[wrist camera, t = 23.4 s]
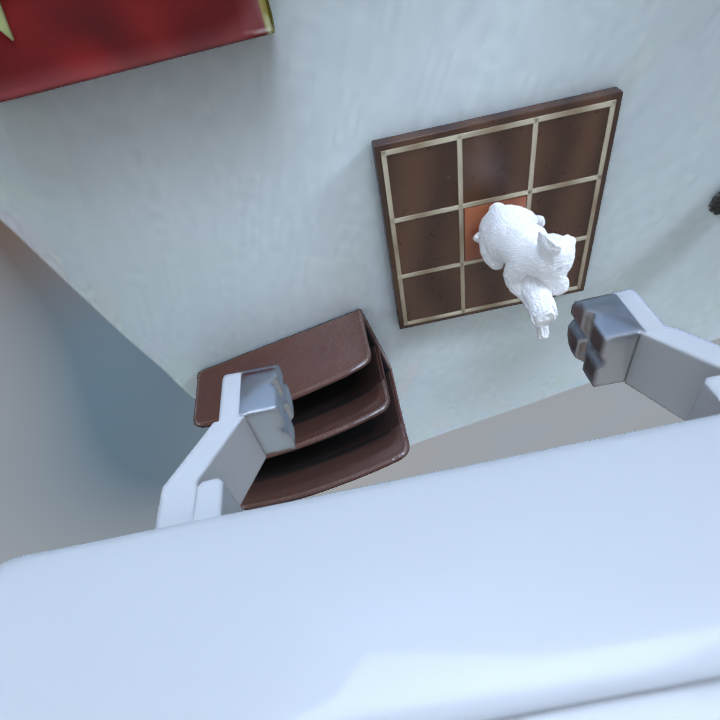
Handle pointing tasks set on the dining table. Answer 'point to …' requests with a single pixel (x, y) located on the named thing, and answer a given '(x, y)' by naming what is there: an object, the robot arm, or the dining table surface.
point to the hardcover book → (112, 37)
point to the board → (489, 197)
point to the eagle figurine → (715, 205)
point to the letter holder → (321, 409)
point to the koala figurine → (527, 259)
